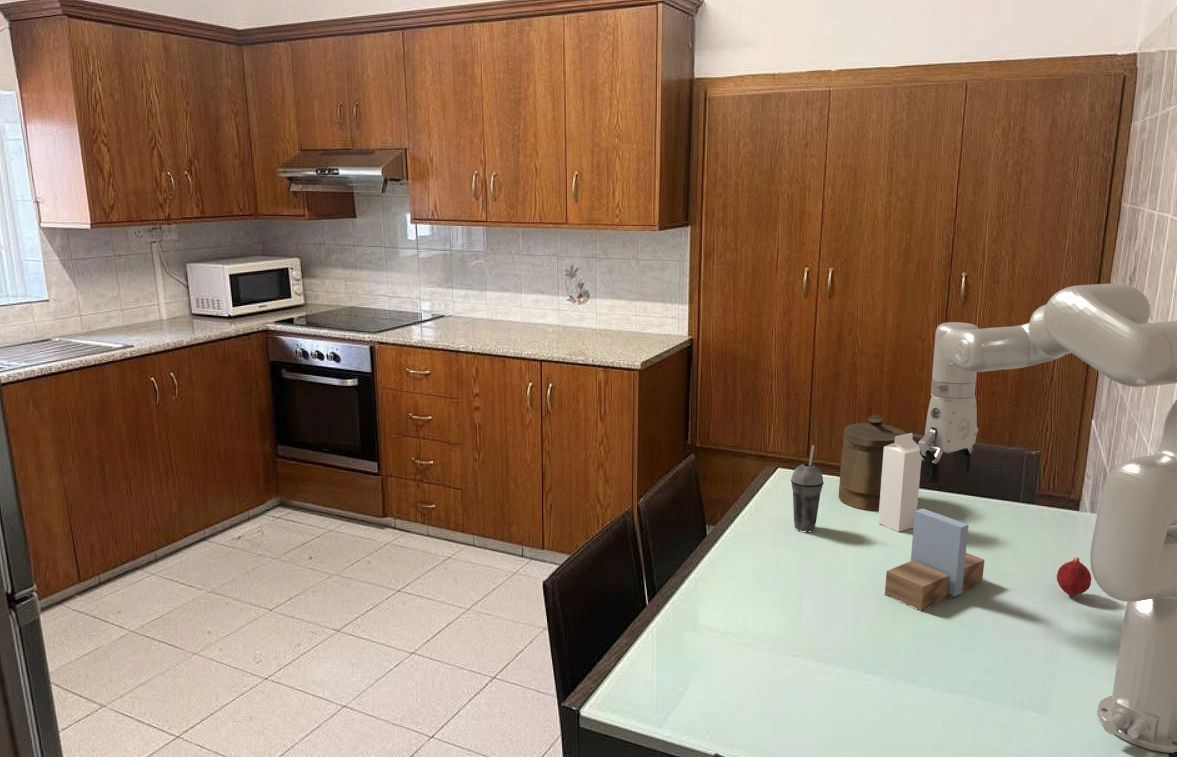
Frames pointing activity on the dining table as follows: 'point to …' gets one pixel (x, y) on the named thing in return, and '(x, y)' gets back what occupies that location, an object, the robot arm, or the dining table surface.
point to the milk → (900, 483)
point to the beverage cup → (806, 495)
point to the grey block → (940, 546)
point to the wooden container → (864, 462)
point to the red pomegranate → (1074, 577)
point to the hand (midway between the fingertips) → (945, 476)
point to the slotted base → (929, 582)
